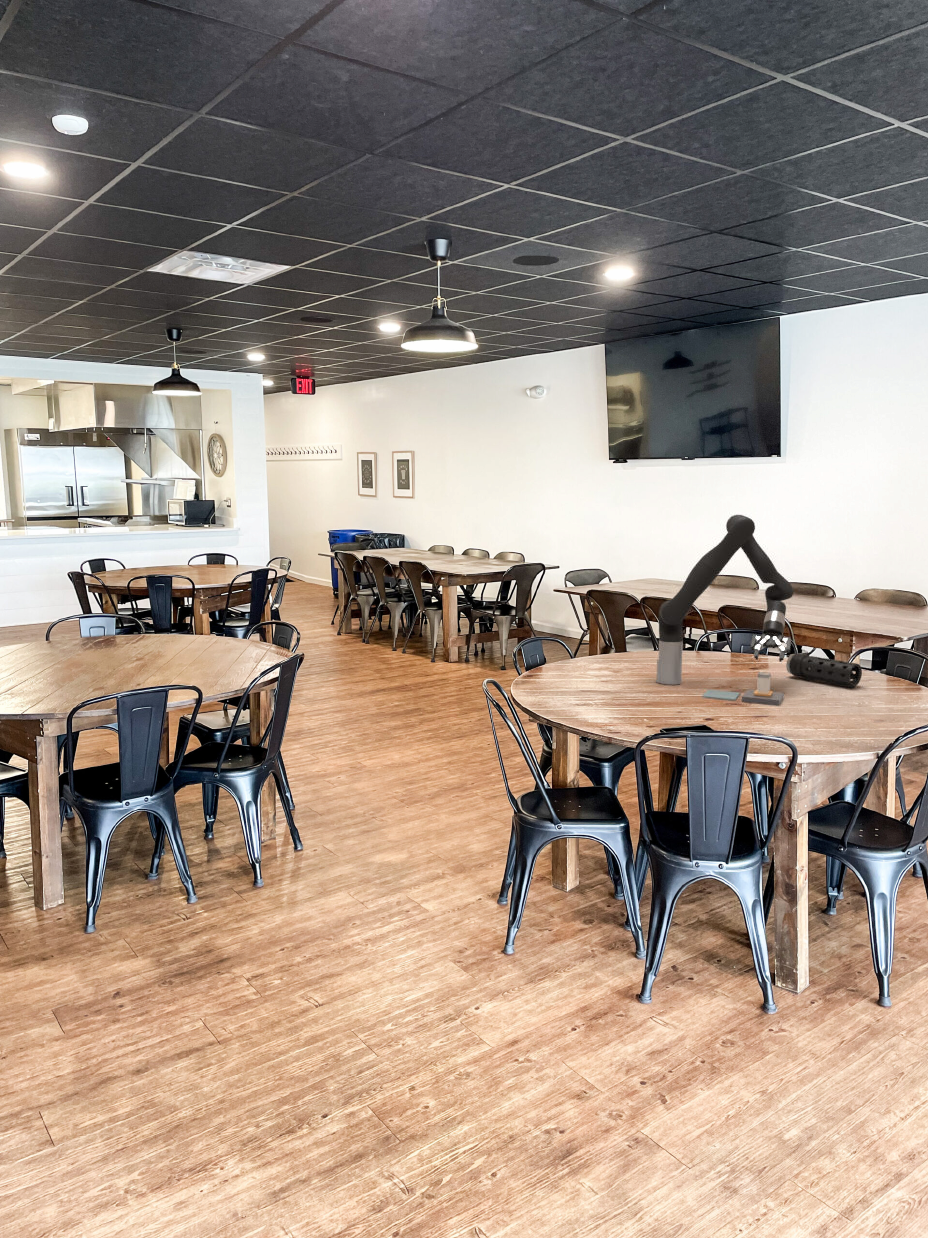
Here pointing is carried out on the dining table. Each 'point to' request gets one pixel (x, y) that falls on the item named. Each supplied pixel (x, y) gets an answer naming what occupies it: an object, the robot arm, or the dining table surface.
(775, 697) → the socket box
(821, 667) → the muzzle brake
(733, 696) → the mat
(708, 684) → the dining table surface
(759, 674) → the plug
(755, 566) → the robot arm
